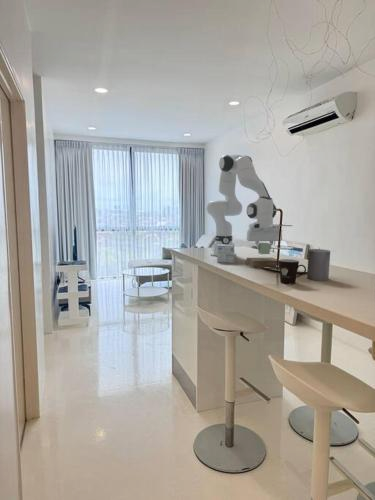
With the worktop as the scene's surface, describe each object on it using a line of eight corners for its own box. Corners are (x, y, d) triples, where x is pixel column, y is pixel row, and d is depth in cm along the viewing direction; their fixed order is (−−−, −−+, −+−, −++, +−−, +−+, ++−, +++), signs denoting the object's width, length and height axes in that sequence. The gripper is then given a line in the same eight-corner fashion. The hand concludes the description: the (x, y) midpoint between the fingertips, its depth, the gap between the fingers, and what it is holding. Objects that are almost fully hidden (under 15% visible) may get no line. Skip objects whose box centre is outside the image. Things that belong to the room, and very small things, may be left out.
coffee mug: (273, 281, 154) (274, 259, 153) (289, 280, 157) (290, 258, 156) (290, 286, 144) (291, 263, 142) (306, 285, 147) (308, 262, 145)
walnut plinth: (246, 264, 203) (246, 257, 203) (272, 264, 205) (272, 257, 205) (253, 268, 189) (254, 261, 189) (281, 267, 192) (281, 260, 191)
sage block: (258, 253, 198) (258, 242, 198) (266, 253, 199) (266, 242, 198) (261, 254, 194) (261, 243, 193) (269, 254, 194) (270, 243, 194)
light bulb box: (233, 261, 215) (234, 244, 214) (234, 262, 209) (234, 245, 208) (216, 260, 217) (217, 244, 215) (216, 262, 210) (217, 245, 209)
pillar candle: (303, 276, 166) (305, 246, 164) (322, 276, 167) (324, 246, 165) (312, 281, 157) (314, 248, 155) (332, 280, 157) (334, 248, 156)
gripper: (280, 224, 199) (279, 248, 201) (246, 224, 196) (245, 248, 198) (284, 225, 193) (283, 249, 194) (249, 225, 190) (248, 249, 192)
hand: (264, 249), depth 196 cm, fingers closed on sage block, 5 cm apart
